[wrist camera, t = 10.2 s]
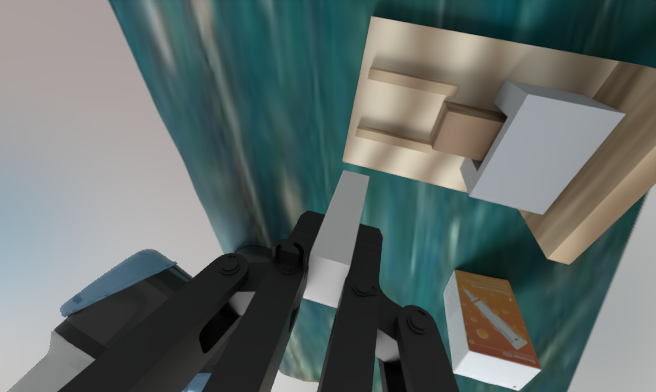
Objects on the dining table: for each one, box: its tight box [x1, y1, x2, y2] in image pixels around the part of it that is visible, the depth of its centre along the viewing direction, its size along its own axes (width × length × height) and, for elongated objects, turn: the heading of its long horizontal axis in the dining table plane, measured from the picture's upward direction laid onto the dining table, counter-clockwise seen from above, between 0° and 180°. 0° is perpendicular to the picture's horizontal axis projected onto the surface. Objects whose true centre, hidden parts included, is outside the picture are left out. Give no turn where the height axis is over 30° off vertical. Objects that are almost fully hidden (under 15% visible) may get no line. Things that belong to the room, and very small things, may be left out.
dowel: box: [430, 101, 508, 161], centre depth 27 cm, size 10×4×4 cm, turn 82°
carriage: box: [460, 80, 626, 215], centre depth 25 cm, size 7×10×6 cm
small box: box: [443, 269, 541, 390], centre depth 38 cm, size 8×6×13 cm
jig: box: [343, 16, 656, 265], centre depth 26 cm, size 24×16×10 cm, turn 82°
